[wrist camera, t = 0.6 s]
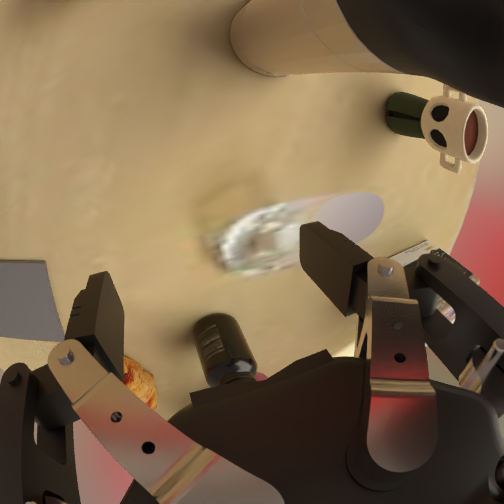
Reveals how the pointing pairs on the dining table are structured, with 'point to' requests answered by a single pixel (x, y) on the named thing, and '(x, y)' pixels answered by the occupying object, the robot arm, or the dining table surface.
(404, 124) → the character mug
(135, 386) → the croissant
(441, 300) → the tea box
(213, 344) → the supplement bottle
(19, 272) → the rubber pad
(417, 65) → the robot arm
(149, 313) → the dining table surface
